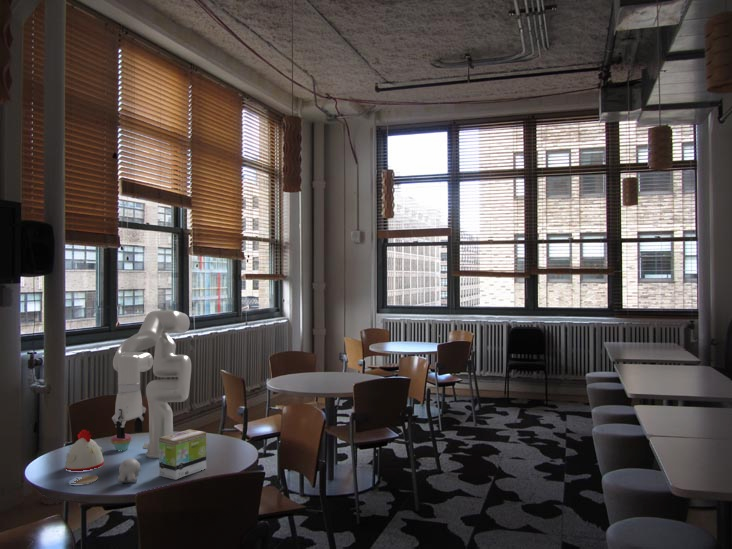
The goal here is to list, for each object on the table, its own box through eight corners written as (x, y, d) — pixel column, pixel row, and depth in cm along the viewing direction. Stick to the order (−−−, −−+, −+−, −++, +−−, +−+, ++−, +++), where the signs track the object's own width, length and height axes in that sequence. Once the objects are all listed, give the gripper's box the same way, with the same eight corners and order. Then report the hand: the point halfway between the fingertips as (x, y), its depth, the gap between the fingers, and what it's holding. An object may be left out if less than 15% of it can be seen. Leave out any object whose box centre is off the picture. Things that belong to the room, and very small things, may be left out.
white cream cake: (78, 475, 228) (77, 436, 228) (58, 469, 235) (57, 431, 235) (110, 465, 239) (110, 428, 239) (90, 460, 247) (90, 424, 247)
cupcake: (136, 448, 262) (135, 421, 262) (118, 453, 255) (118, 425, 255) (123, 446, 267) (123, 419, 267) (106, 451, 259) (106, 423, 260)
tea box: (176, 480, 219) (175, 440, 219) (158, 476, 224) (157, 437, 224) (207, 469, 231) (206, 431, 231) (189, 465, 237) (188, 428, 237)
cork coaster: (61, 484, 217) (61, 483, 217) (82, 475, 227) (82, 474, 227) (84, 486, 214) (84, 485, 214) (104, 477, 224) (104, 476, 224)
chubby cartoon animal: (145, 484, 223) (149, 460, 227) (133, 482, 212) (137, 457, 216) (126, 484, 224) (130, 460, 227) (113, 482, 212) (117, 457, 216)
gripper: (136, 384, 228) (136, 429, 228) (104, 392, 212) (104, 440, 211) (152, 384, 226) (153, 430, 226) (121, 392, 210) (122, 441, 209)
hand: (130, 435), depth 219 cm, fingers open, 9 cm apart
